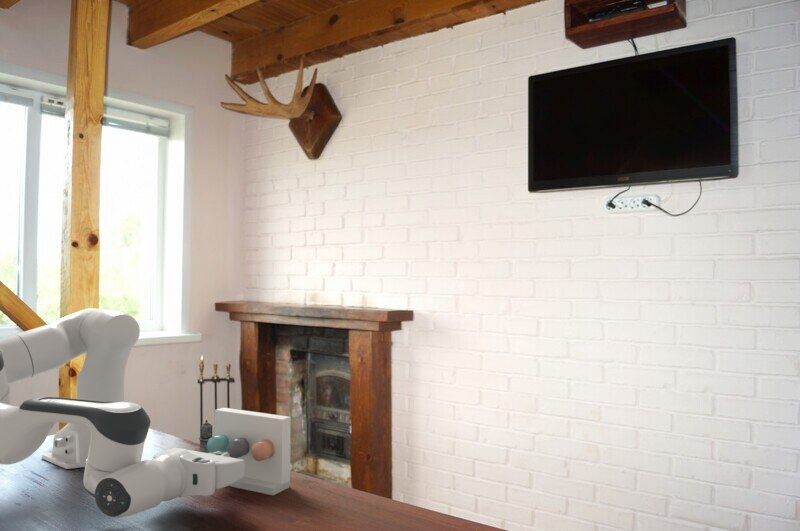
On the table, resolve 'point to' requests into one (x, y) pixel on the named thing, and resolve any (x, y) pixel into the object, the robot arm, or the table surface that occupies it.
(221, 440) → the teal button
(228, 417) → the console
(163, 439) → the table surface
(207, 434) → the grey stone chess piece
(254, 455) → the terracotta button
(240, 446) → the charcoal button
